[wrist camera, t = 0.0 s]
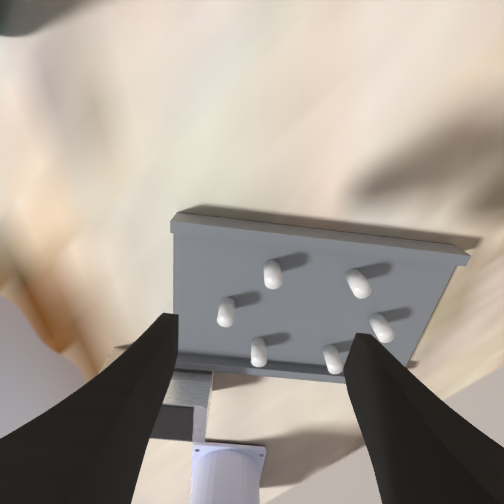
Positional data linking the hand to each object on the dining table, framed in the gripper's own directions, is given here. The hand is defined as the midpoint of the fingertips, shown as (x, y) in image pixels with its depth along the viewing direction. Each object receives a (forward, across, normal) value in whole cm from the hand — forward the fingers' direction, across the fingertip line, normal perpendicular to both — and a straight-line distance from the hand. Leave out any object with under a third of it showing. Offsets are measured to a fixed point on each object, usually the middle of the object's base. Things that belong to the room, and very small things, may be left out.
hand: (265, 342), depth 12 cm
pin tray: (+10, -4, +5) cm, 12 cm away
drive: (+10, +7, +14) cm, 19 cm away
